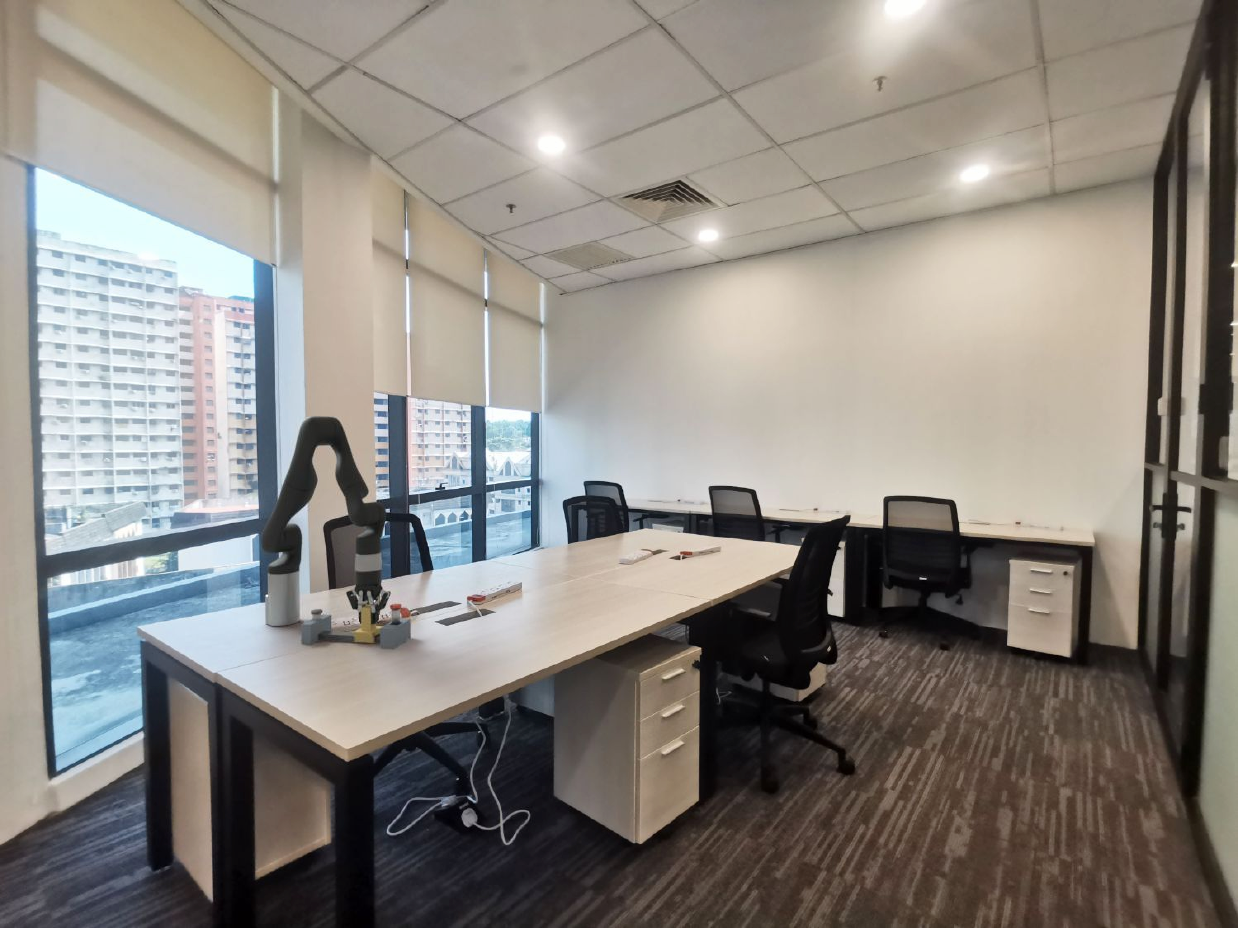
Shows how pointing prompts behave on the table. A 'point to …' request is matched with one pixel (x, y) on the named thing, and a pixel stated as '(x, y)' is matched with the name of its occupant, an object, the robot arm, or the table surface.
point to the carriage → (366, 627)
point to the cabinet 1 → (315, 626)
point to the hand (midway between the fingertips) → (368, 623)
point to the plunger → (395, 613)
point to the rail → (342, 637)
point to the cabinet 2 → (395, 634)
